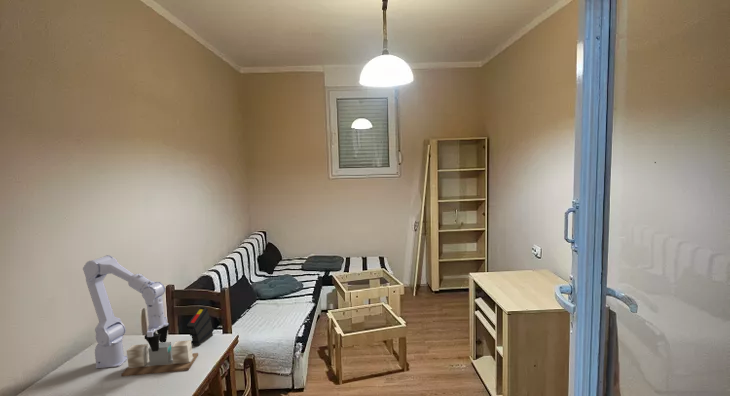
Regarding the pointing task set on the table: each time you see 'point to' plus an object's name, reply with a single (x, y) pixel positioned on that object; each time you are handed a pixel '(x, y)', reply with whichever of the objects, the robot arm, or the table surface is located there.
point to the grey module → (161, 354)
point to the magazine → (200, 327)
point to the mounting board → (141, 365)
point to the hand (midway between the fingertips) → (159, 346)
